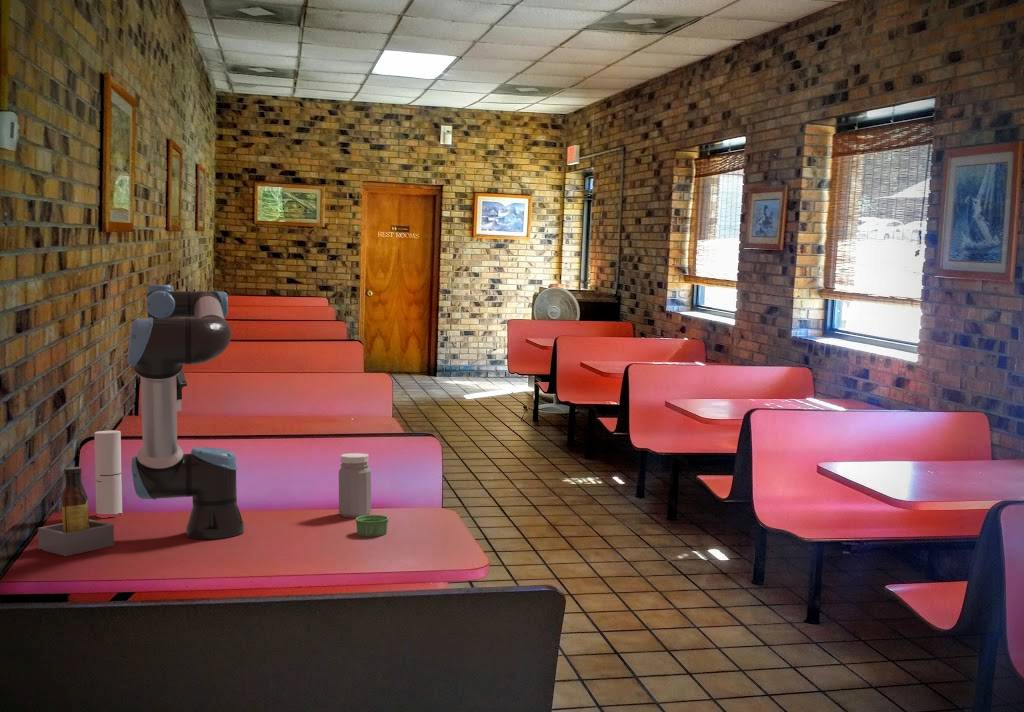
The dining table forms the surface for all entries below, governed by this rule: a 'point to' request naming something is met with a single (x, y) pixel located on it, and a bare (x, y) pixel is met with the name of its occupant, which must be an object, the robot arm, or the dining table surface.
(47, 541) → the grey open box
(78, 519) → the sauce bottle
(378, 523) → the ramekin
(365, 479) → the jar
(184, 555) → the dining table surface
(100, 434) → the cylindrical container
